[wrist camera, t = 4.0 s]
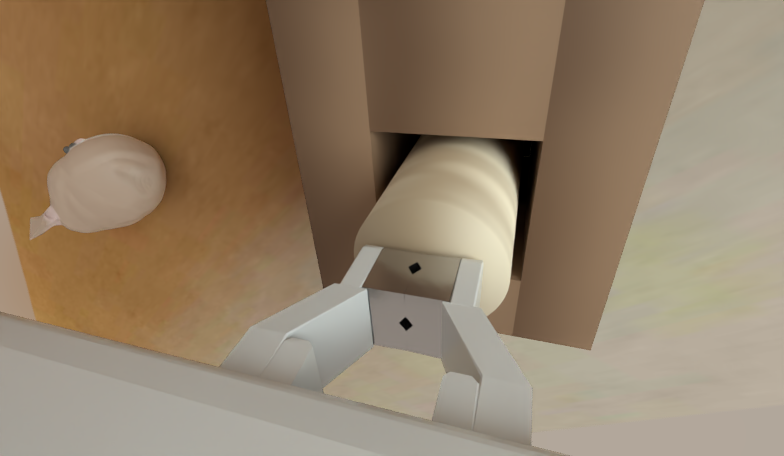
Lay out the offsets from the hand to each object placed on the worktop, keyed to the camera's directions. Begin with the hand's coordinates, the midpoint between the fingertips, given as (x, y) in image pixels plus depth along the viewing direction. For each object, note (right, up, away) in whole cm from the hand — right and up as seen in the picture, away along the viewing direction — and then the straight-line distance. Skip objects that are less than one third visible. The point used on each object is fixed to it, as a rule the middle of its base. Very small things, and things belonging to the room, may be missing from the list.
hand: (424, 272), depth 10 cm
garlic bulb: (-19, +6, +20) cm, 28 cm away
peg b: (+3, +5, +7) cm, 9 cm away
